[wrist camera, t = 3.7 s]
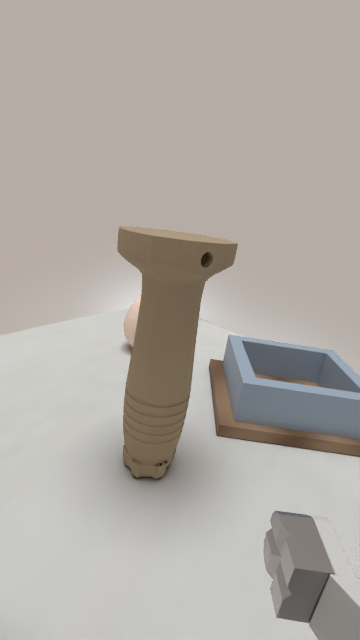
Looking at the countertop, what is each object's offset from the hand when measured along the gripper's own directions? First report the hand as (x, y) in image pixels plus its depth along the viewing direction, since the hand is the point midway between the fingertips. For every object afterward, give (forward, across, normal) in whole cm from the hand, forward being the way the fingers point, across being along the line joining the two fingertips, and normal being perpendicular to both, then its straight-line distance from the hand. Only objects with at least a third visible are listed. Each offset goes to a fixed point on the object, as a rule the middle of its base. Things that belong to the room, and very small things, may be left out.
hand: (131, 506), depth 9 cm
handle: (+10, 0, +8) cm, 13 cm away
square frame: (+20, -12, +8) cm, 25 cm away
